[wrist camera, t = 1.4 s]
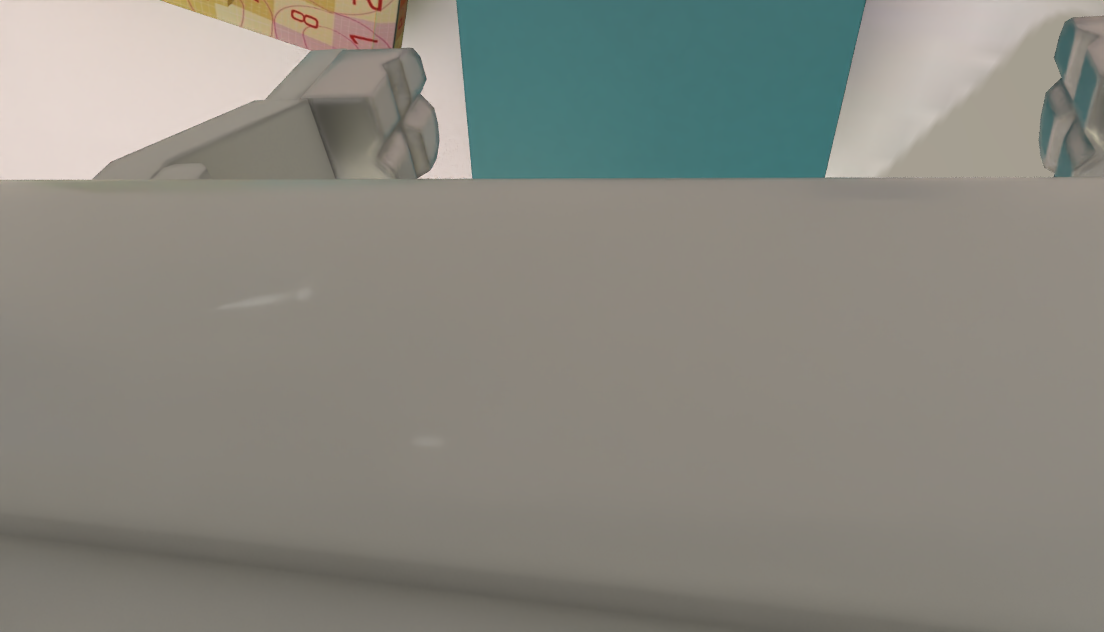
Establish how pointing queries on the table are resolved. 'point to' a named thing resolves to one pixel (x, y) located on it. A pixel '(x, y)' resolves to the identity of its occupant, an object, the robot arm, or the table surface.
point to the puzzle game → (313, 20)
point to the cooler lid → (654, 86)
